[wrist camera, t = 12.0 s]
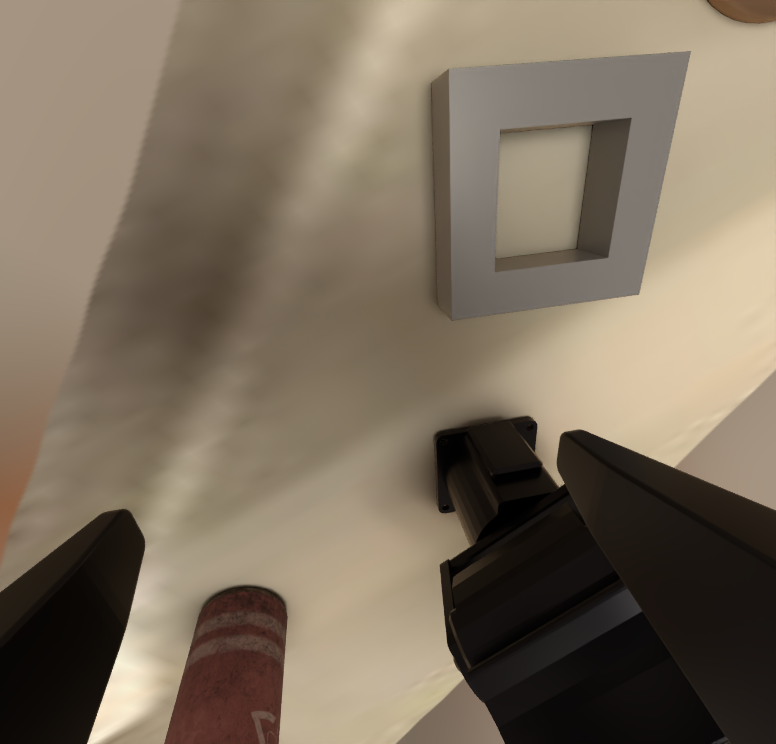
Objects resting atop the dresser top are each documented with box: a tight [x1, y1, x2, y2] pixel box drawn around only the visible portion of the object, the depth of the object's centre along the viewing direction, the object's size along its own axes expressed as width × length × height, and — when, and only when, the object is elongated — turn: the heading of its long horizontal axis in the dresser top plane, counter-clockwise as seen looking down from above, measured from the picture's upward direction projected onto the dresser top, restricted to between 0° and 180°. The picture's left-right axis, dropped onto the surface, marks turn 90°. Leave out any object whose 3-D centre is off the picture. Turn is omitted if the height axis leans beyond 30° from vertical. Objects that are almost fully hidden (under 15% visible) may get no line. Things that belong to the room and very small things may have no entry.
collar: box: [431, 51, 691, 320], centre depth 18 cm, size 10×10×2 cm
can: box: [164, 587, 287, 744], centre depth 23 cm, size 6×6×14 cm
